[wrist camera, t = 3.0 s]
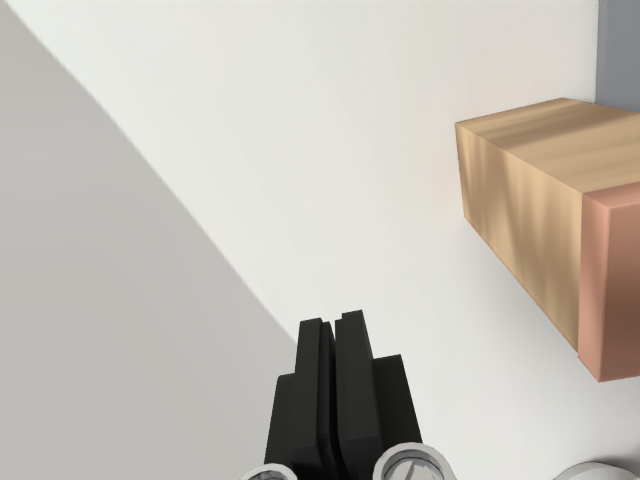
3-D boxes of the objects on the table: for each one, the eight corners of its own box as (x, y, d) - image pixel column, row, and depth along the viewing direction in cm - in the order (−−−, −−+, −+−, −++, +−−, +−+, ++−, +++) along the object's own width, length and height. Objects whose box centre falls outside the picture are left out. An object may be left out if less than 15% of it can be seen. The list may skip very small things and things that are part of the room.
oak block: (453, 122, 20) (608, 207, 9) (563, 96, 19) (870, 154, 8) (463, 217, 22) (598, 382, 11) (562, 197, 21) (808, 349, 10)
